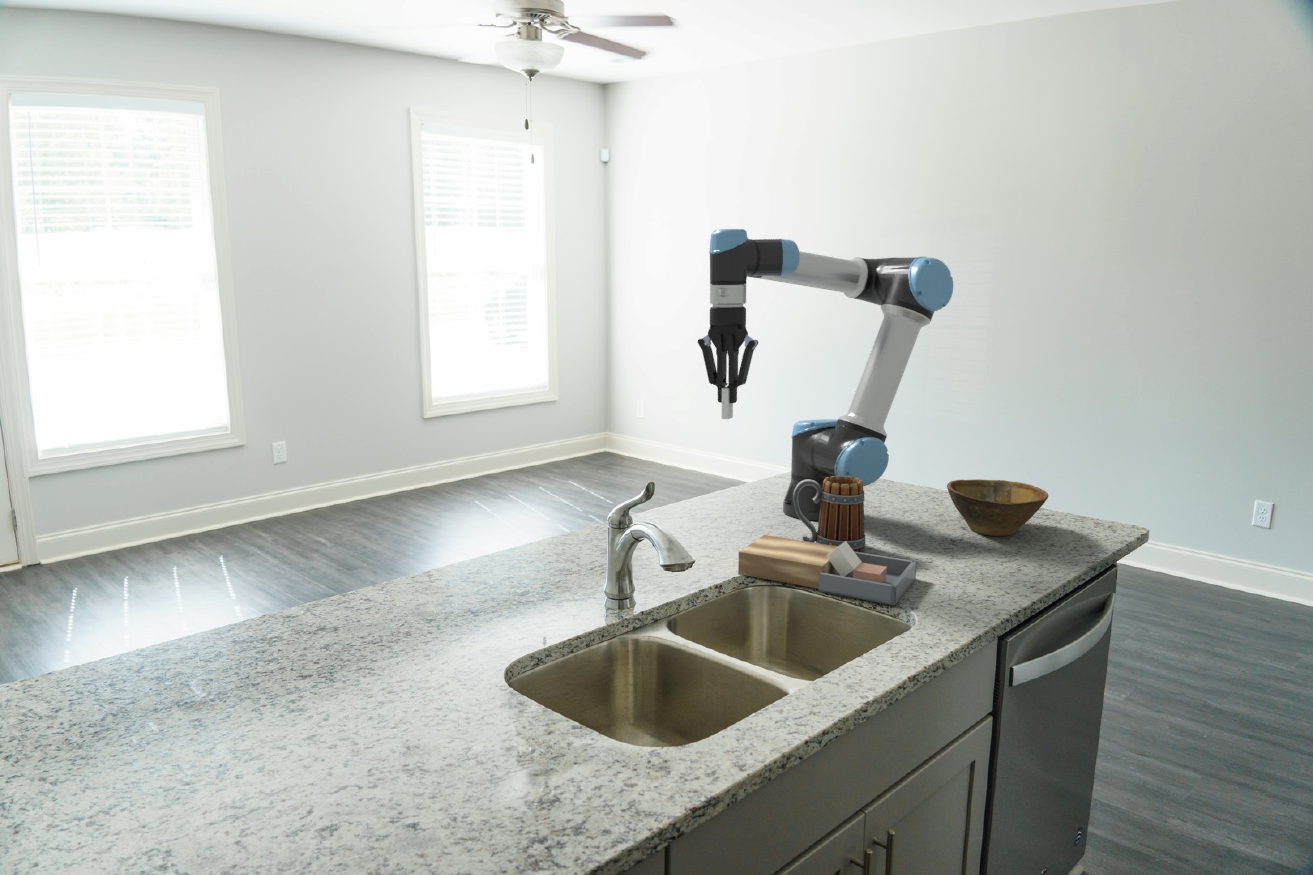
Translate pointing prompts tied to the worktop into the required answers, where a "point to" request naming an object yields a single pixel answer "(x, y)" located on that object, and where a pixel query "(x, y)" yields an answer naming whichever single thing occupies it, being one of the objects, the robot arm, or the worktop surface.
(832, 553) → the tile cream
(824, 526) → the mug
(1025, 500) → the bowl
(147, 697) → the worktop surface
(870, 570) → the tile terracotta
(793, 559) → the oak board
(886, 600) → the tray
